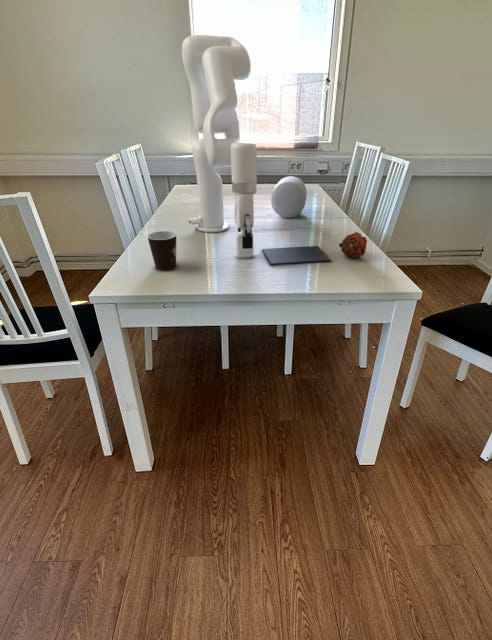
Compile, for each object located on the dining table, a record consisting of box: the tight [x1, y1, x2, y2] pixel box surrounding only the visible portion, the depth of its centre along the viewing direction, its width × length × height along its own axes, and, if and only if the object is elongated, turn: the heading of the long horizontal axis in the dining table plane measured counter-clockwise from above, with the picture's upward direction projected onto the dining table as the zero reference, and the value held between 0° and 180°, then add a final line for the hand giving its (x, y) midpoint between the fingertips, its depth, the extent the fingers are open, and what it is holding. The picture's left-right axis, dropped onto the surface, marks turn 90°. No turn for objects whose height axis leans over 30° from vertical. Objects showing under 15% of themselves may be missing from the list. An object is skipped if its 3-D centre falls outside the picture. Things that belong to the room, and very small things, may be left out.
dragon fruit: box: [338, 231, 368, 260], centre depth 131 cm, size 8×8×12 cm
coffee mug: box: [146, 230, 177, 272], centre depth 122 cm, size 12×9×10 cm
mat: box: [262, 245, 331, 266], centre depth 133 cm, size 20×14×1 cm
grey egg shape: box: [268, 175, 308, 219], centre depth 175 cm, size 19×15×25 cm
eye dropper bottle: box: [235, 225, 254, 259], centre depth 129 cm, size 4×6×12 cm
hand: (245, 243), depth 129 cm, fingers open, 9 cm apart
